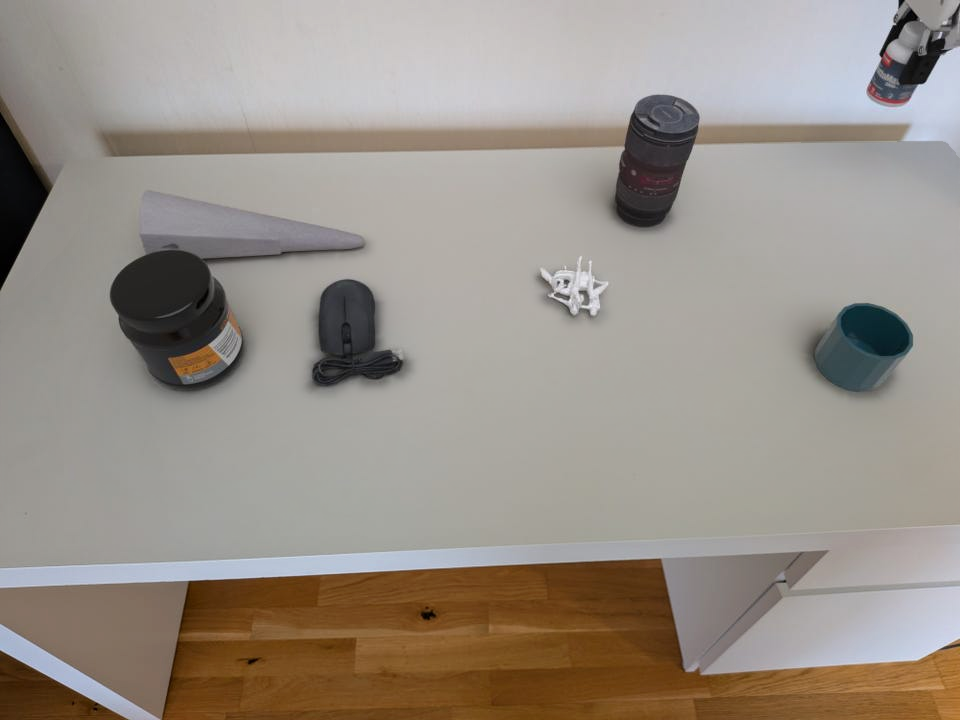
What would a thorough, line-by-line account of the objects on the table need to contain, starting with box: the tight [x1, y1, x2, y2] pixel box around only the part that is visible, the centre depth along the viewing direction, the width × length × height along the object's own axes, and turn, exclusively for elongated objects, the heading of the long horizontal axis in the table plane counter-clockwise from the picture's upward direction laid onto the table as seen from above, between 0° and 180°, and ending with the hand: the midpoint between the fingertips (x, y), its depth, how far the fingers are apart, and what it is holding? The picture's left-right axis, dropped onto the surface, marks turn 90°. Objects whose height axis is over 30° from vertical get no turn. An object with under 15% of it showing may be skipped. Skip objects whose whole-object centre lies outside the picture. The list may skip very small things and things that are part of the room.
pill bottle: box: [866, 20, 941, 108], centre depth 84 cm, size 5×5×9 cm
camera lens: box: [614, 93, 701, 228], centre depth 85 cm, size 8×8×15 cm
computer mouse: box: [311, 278, 405, 387], centre depth 77 cm, size 10×15×4 cm
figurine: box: [539, 255, 610, 317], centre depth 81 cm, size 3×8×8 cm
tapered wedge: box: [139, 189, 365, 260], centre depth 86 cm, size 8×9×26 cm
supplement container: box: [109, 250, 245, 391], centre depth 71 cm, size 10×10×12 cm
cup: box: [814, 302, 914, 393], centre depth 74 cm, size 8×8×6 cm
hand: (901, 68), depth 85 cm, fingers closed on pill bottle, 5 cm apart
